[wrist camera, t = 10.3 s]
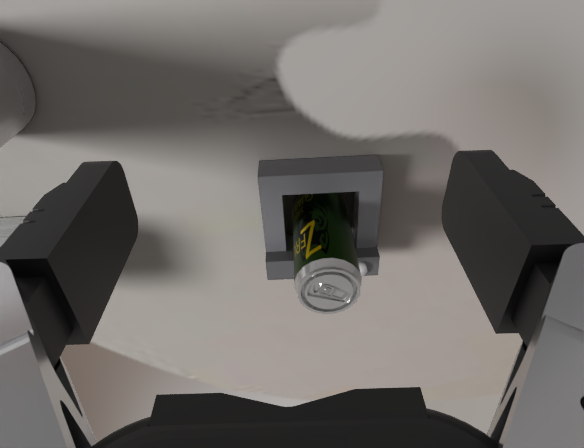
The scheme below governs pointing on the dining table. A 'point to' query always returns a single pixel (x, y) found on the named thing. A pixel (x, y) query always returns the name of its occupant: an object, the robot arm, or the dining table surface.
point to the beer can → (324, 254)
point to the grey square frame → (320, 179)
